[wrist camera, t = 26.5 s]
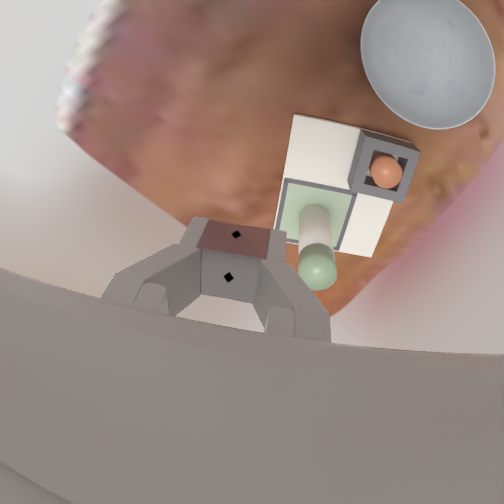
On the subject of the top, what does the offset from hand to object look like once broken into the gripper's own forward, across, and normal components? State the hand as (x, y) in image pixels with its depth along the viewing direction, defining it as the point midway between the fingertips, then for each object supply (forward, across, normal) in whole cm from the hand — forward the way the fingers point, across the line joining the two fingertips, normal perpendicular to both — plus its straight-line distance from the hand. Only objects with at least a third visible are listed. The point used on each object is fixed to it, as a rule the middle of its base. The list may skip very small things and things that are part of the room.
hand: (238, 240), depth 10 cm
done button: (+28, -14, +5) cm, 32 cm away
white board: (+29, -10, +11) cm, 32 cm away
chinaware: (+29, -14, -9) cm, 34 cm away
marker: (+28, -7, +15) cm, 33 cm away
